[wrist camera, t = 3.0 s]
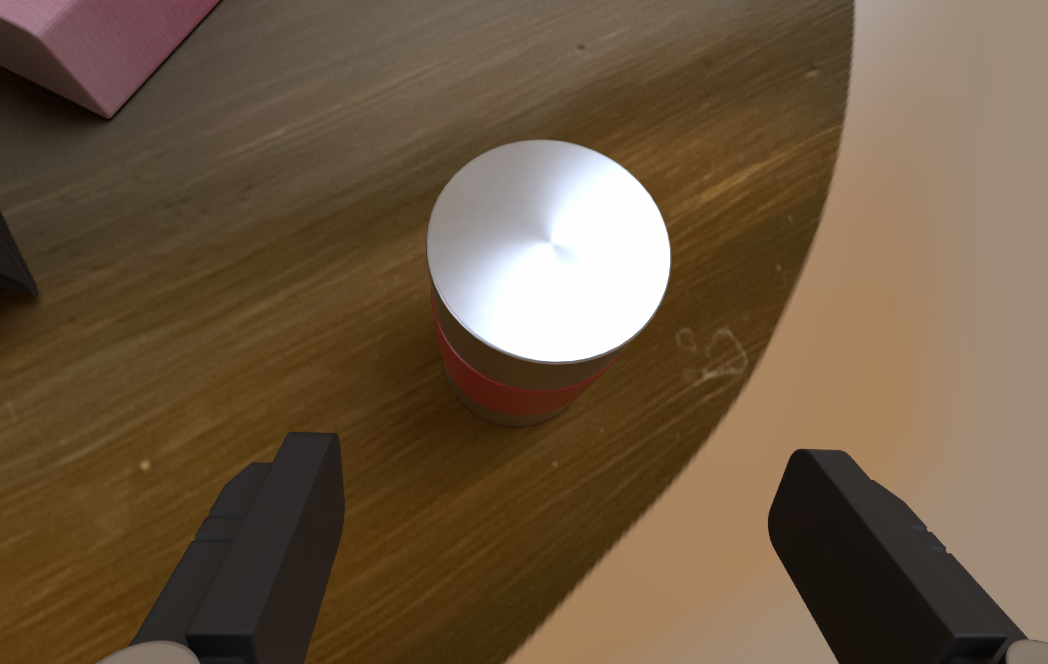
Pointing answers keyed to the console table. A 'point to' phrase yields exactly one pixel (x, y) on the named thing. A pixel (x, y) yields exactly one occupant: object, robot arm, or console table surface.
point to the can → (541, 275)
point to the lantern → (13, 265)
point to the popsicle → (94, 44)
